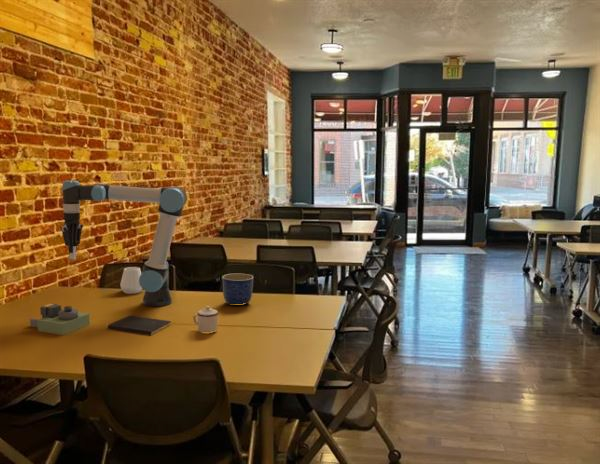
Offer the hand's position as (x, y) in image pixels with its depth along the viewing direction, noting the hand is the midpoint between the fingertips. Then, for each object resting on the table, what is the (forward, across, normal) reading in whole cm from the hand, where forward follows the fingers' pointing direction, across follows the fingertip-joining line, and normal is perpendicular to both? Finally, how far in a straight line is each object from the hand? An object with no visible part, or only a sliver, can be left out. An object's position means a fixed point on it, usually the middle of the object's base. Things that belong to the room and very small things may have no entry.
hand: (72, 259), depth 245 cm
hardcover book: (+27, +9, +45) cm, 53 cm away
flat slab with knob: (+26, +23, +11) cm, 37 cm away
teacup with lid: (+27, +2, +75) cm, 80 cm away
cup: (+27, -42, +4) cm, 50 cm away
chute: (+26, +23, +8) cm, 36 cm away
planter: (+27, -44, +70) cm, 87 cm away
